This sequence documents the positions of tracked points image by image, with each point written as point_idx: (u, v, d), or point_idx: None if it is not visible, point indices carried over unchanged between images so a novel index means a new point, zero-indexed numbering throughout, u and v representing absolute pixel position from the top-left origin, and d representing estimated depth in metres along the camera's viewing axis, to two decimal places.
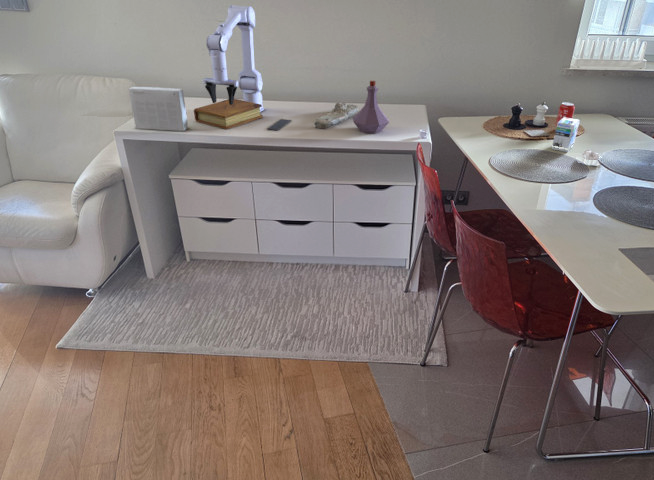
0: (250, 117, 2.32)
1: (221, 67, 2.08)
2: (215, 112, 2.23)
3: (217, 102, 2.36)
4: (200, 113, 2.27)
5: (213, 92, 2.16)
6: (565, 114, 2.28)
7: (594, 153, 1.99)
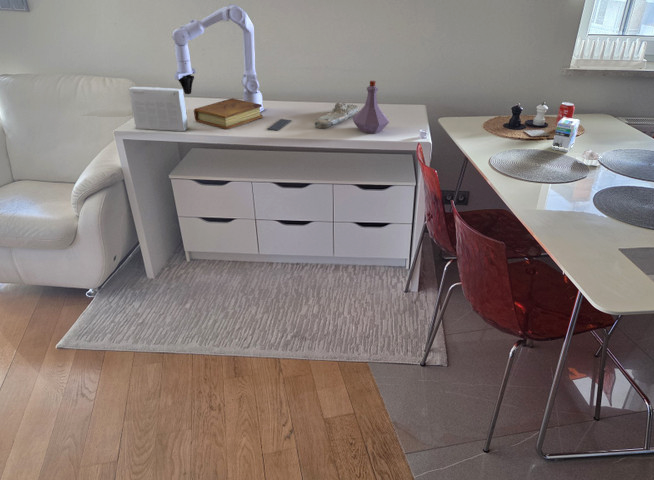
0: (250, 117, 2.32)
1: (178, 59, 2.22)
2: (215, 112, 2.23)
3: (217, 102, 2.36)
4: (200, 113, 2.27)
5: None
6: (565, 114, 2.28)
7: (594, 153, 1.99)
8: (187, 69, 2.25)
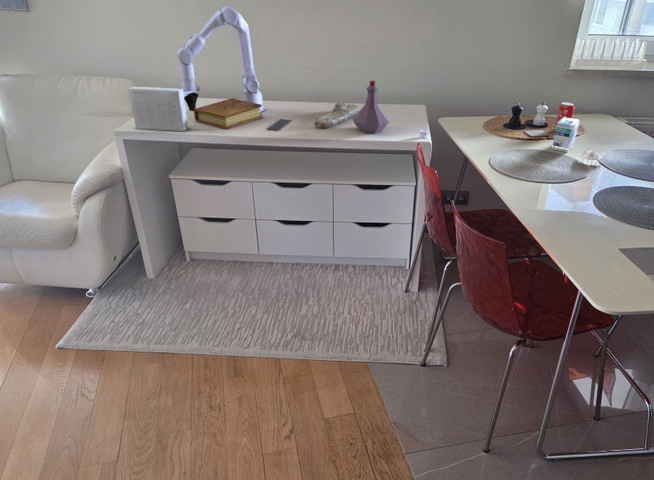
0: (250, 117, 2.32)
1: (183, 78, 2.26)
2: (215, 112, 2.23)
3: (217, 102, 2.36)
4: (200, 113, 2.27)
5: None
6: (565, 114, 2.28)
7: (594, 153, 1.99)
8: (191, 87, 2.29)
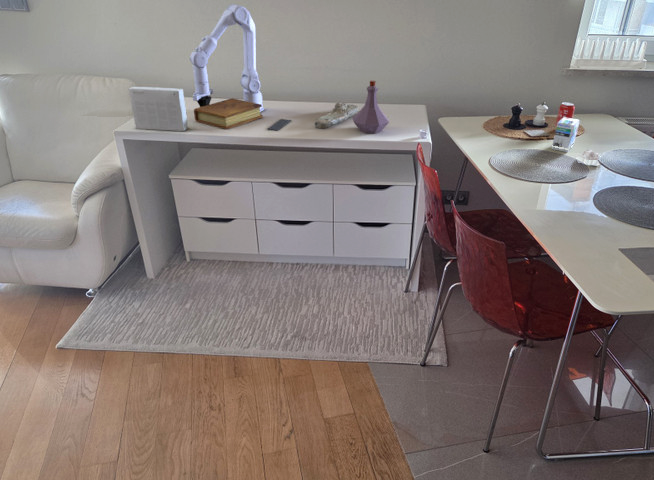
0: (250, 117, 2.32)
1: (198, 81, 2.25)
2: (215, 112, 2.23)
3: (217, 102, 2.36)
4: (200, 113, 2.27)
5: None
6: (565, 114, 2.28)
7: (594, 153, 1.99)
8: (205, 90, 2.28)
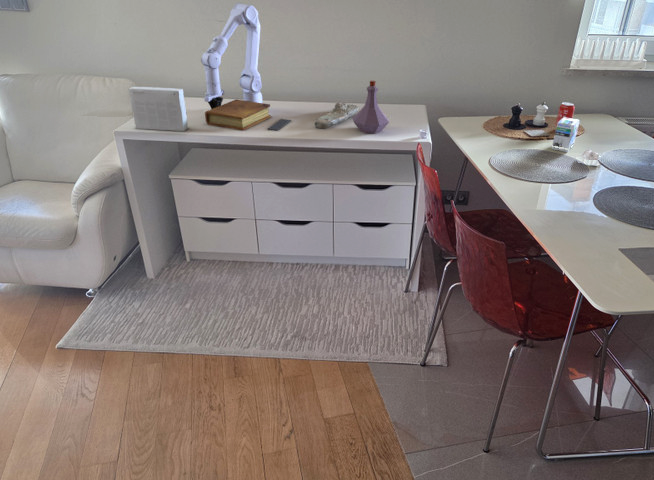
0: (261, 117, 2.33)
1: (211, 82, 2.24)
2: (229, 114, 2.21)
3: (224, 104, 2.34)
4: (212, 115, 2.25)
5: None
6: (565, 114, 2.28)
7: (594, 153, 1.99)
8: (216, 91, 2.27)
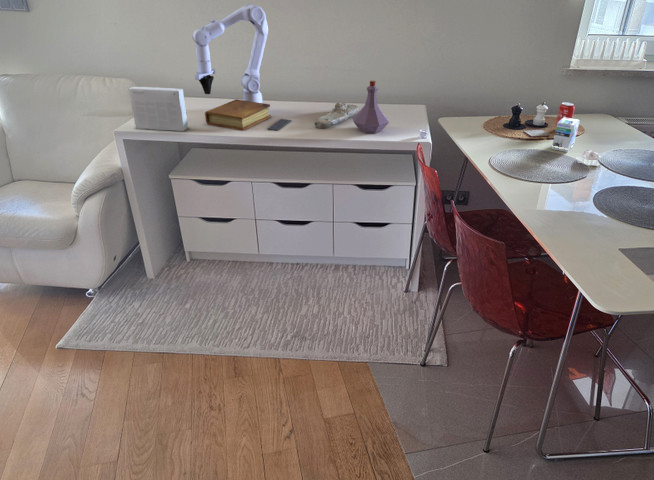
0: (261, 117, 2.33)
1: (199, 59, 2.23)
2: (229, 114, 2.21)
3: (224, 104, 2.34)
4: (212, 115, 2.25)
5: None
6: (565, 114, 2.28)
7: (594, 153, 1.99)
8: (207, 69, 2.26)
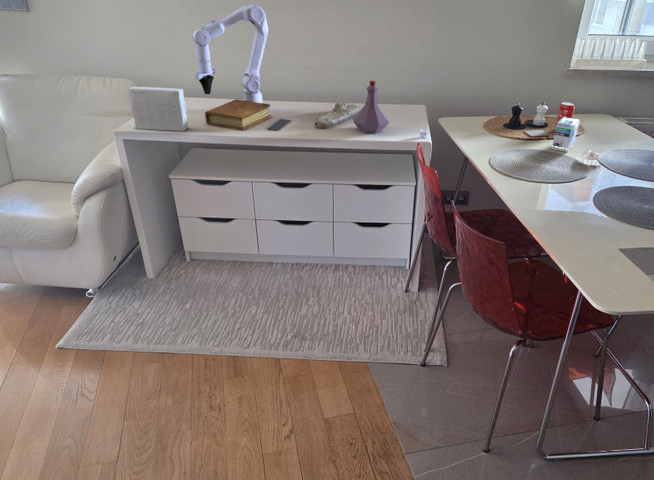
0: (261, 117, 2.33)
1: (199, 59, 2.23)
2: (229, 114, 2.21)
3: (224, 104, 2.34)
4: (212, 115, 2.25)
5: None
6: (565, 114, 2.28)
7: (594, 153, 1.99)
8: (207, 69, 2.26)
